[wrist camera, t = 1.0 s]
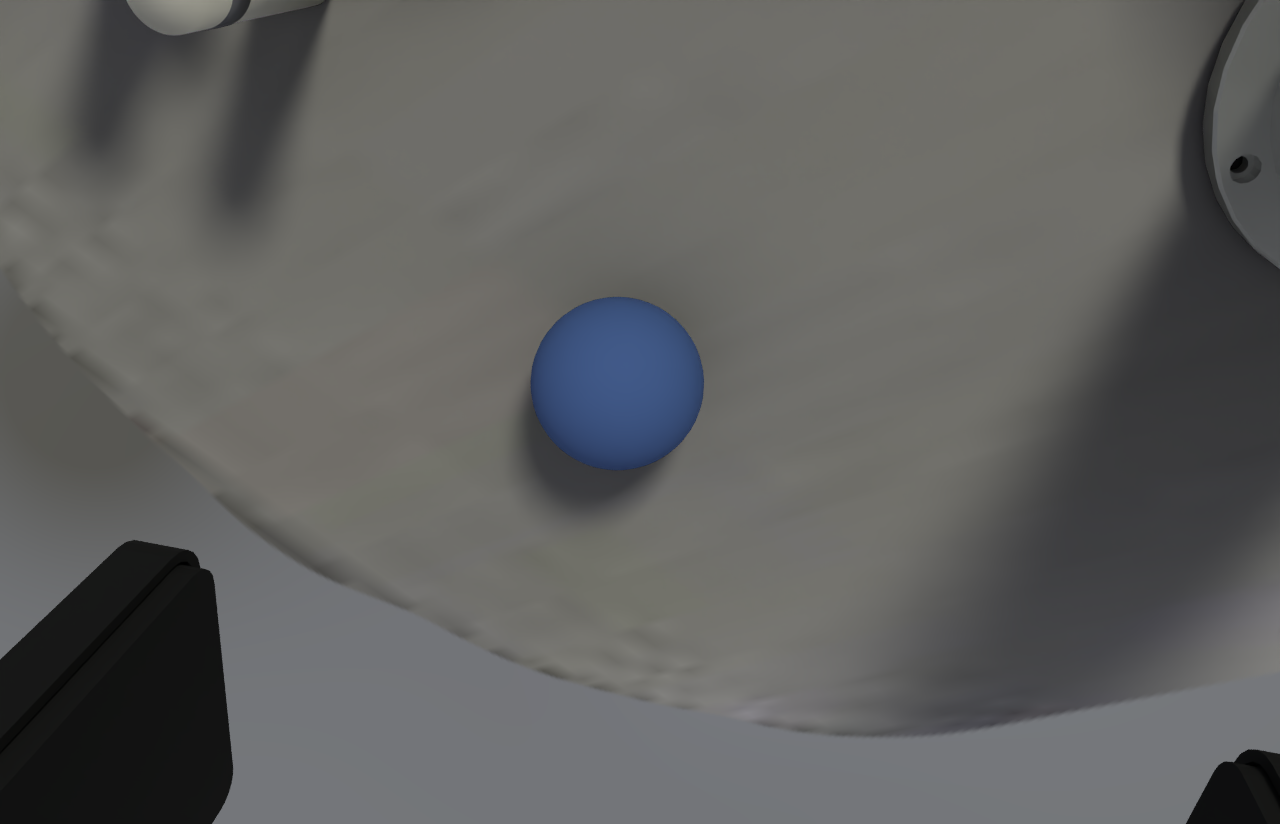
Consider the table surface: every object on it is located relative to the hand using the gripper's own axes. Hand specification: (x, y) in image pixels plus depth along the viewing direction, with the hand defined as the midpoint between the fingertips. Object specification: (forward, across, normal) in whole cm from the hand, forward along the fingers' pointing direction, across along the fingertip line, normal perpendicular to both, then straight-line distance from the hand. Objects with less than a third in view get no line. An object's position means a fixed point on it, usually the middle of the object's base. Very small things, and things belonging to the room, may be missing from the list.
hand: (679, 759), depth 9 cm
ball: (+24, +4, +8) cm, 26 cm away
